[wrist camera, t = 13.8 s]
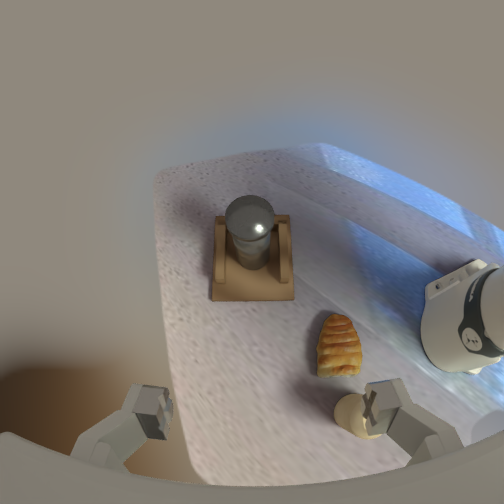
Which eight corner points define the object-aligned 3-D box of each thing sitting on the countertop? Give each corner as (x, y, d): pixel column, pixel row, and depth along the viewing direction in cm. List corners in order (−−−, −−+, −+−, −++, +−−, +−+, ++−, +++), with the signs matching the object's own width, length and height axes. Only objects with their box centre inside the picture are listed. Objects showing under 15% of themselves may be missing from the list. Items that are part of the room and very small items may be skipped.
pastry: (312, 317, 44) (317, 311, 40) (356, 314, 44) (364, 309, 40) (315, 380, 40) (320, 380, 37) (359, 375, 40) (368, 375, 36)
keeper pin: (260, 231, 48) (259, 188, 37) (279, 261, 46) (283, 224, 35) (227, 248, 47) (216, 207, 36) (245, 279, 45) (238, 246, 34)
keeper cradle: (216, 218, 50) (213, 208, 47) (288, 217, 50) (290, 206, 47) (212, 301, 45) (209, 295, 42) (293, 300, 45) (296, 294, 42)
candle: (332, 396, 39) (352, 400, 30) (368, 390, 39) (395, 393, 30) (333, 431, 37) (353, 445, 27) (369, 425, 37) (397, 436, 27)
